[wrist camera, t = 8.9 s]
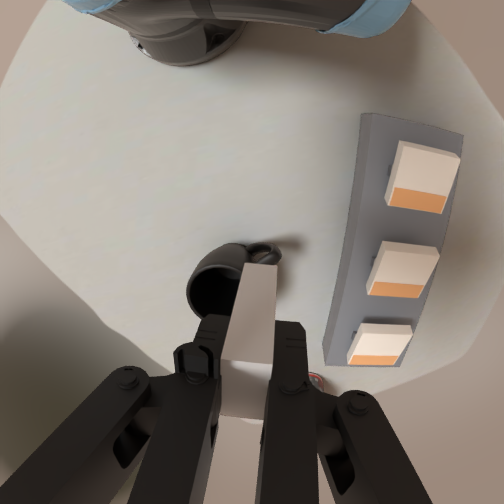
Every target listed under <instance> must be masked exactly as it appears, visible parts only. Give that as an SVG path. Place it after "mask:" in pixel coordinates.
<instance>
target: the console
mask: <svg viewBox="0 0 504 504" xmlns="http://www.w3.org/2000/svg"><path fill="white" fill-rule="evenodd" d="M463 136H464V135H461V134H457V133H454V132H451V131H447V130H444V129H440V128H436V127H432V126H429V125H425V124H421V123H416V122H412V121H408V120H404V119H399V118H395V117H390V116H385V115H380V114H375V113H364V114H361V122H360V132H359V141H358V150H357V158H356V166H355V174H354V181H353V188H352V195H351V202H350V208H349V215H348V221H347V227H346V233H345V238H344V244H343V250H342V255H341V260H340V265H339V271H338V276H337V281H336V285H335V290H334V295H333V300H332V304H331V309H330V313H329V318H328V322H327V326H326V331H325V335H324V339H323V343H322V346H323V354H324V361H325V366H350V367H400V365H401V363H402V360H403V358H404V356H405V353H406V351H407V349H408V346H409V344H410V341H411V339H412V337H411V339H410V340H409V342H408V344H407V345H406V347H405V348H404V350H403V351H402V353H401V354H400V356H399V357H398V359H397V361H396V362H395V363H394V365H350V364H348V363H347V353H348V351H349V349H350V347H351V345H352V342H353V339H354V335H355V334H357V331H358V329H359V327H360V324H361V323H368V324H390V325H410V326H411V329H412V333H413V334H414V331H415V329H416V326H417V323H418V321H419V318H420V315H421V312H422V310H423V307H424V304H425V301H426V298H427V295H428V292H429V289H430V286H431V283H432V280H433V277H434V273H435V270H436V267H437V264H436V266H435V268H434V270H433V271H432V273H431V275H430V277H429V279H428V281H427V283H426V285H425V286H424V288H423V290H422V292H421V294H420V296H419V297H418V298H407V297H391V296H377V295H368V294H367V289H366V283H367V281H368V278H369V276H370V273H371V271H372V268H373V264H374V259H375V258H376V257H377V255H378V252H379V249H380V246H381V244H382V241H389V242H398V243H406V244H414V245H422V246H430V247H436V249H437V251H438V253H439V255H440V253H441V249H442V245H443V242H444V238H445V234H446V230H447V226H448V221H449V217H450V213H451V208H452V203H453V199H454V193H455V188H456V183H457V177H458V171H459V167H458V170H457V173H456V176H455V179H454V181H453V184H452V187H451V190H450V193H449V195H448V198H447V201H446V203H445V206H444V209H443V211H442V214H439V213H433V212H427V211H421V210H415V209H408V208H402V207H395V206H389V205H387V203H386V201H385V198H384V197H385V193H386V190H387V186H388V182H389V179H390V175H391V167H392V165H393V164H394V160H395V156H396V152H397V147H398V143H399V140H401V141H406V142H410V143H415V144H419V145H424V146H428V147H432V148H436V149H440V150H444V151H448V152H452V153H455V154H456V155H457V156H458V157H459V158H460V159H461V152H462V144H463ZM459 165H460V164H459ZM437 263H438V262H437Z"/></svg>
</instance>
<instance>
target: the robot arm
mask: <svg viewBox="0 0 504 504" xmlns="http://www.w3.org/2000/svg"><path fill="white" fill-rule="evenodd" d="M62 1H63V2H65V3H67V4H68V5H70V6H72V7H73V8H74V9H75V10H76V11H79V12H81V13H85V14H90V15H93V16H95V17H98V18H100V19H102V20H105V21H107V22H109V23H112V24H114V25H116V26H118V27H120V28H123V29H125V30H127V31H128V32H129V35H130V37H131V39H132V41H133V42H134V44H135V45H136V46H137V48H138V49H139V50H140V51H141V52H143V53H144V54H145V55H147V56H148V57H150V58H152V59H154V60H157V61H159V62H162V63H165V64H168V65H174V66H188V65H195V64H199V63H202V62H205V61H208V60H210V59H212V58H215V57H216V56H218V55H220V54H221V53H223V52H224V51H226V50H227V49H228V48H229V47H230V46H231V45H232V44H233V43H234V42H235V41H236V40H237V39H238V38H239V36H240V35H241V33H242V31H243V30H244V28H245V25H246V23H247V21H255V22H265V23H275V24H283V25H290V26H297V27H304V28H310V29H315V30H316V32H319V33H323V34H329V33H337V34H343V35H348V36H353V37H358V38H369V37H372V36H377V35H380V34H382V33H384V32H385V31H387V30H388V29H390V28H391V27H392V26H393V25H394V24H395V23H396V22H397V21H398V20H399V19H400V17H401V16H402V15H403V13H404V12H405V11H406V9H407V7H408V6H409V4H410V2H411V1H412V0H62ZM276 288H277V266H274V265H264V264H253V263H245V264H244V268H243V272H242V276H241V280H240V284H239V288H238V292H237V296H236V299H235V303H234V307H233V311H232V315H231V316H222V315H214V314H208V315H207V316H206V317H205V318H204V319H202V320H201V322H200V325H199V327H198V331H197V333H196V335H195V338H194V340H193V342H189V343H185V344H183V345H181V346H179V347H177V348H176V350H175V351H174V352H173V355H174V364H175V373H173V374H171V375H167V376H157V377H149V376H148V374H147V373H146V371H144V370H143V369H141V368H139V367H135V366H124V367H121V368H118V369H116V370H115V371H113V372H112V373H111V374H110V375H109V376H108V377H107V378H106V379H105V380H104V381H103V382H102V383H101V384H100V385H99V386H98V387H97V388H96V389H95V390H94V391H93V392H92V393H91V394H90V395H89V396H88V397H87V398H86V399H85V400H84V401H83V402H82V403H81V404H80V405H79V406H78V407H77V408H76V410H74V411H73V412H72V413H71V414H70V415H69V416H68V418H66V419H65V421H64V422H62V423H61V425H60V426H59V427H58V428H57V429H56V430H55V431H54V432H53V433H52V434H51V435H50V436H49V437H48V438H47V439H46V440H45V441H44V442H43V443H42V444H41V445H40V446H39V447H38V448H37V449H36V451H34V452H33V453H32V454H31V455H30V457H29V458H28V459H27V460H26V461H25V462H24V463H23V464H22V465H21V466H20V467H19V468H18V469H17V470H16V471H15V472H14V473H13V475H11V476H10V478H8V480H7V481H6V482H5V483H4V484H3V485H2V486H1V487H0V504H109V503H110V502H111V500H112V499H113V498H114V496H115V495H116V494H117V492H118V491H119V490H120V488H121V487H122V486H123V484H124V483H125V482H126V480H127V479H128V477H129V476H130V475H131V473H132V472H133V471H134V469H135V468H136V467H137V465H138V464H139V462H140V461H141V460H142V458H143V457H144V458H143V460H142V463H141V466H140V469H139V472H138V474H137V477H136V480H135V483H134V486H133V488H132V491H131V494H130V497H129V500H128V503H127V504H203V500H204V495H205V491H206V486H207V481H208V476H209V471H210V466H211V461H212V457H213V452H214V446H215V442H216V437H217V432H218V418H219V413H220V415H224V416H232V417H240V418H249V419H259V420H264V421H263V429H262V434H261V441H260V444H261V447H260V457H259V468H258V477H257V487H256V496H255V504H319V489H318V459H317V453H318V455H319V458H320V461H321V464H322V466H323V469H324V472H325V475H326V478H327V481H328V483H329V486H330V489H331V492H332V495H333V498H334V501H335V503H336V504H433V503H432V501H431V499H430V498H429V496H428V494H427V492H426V490H425V488H424V486H423V484H422V482H421V480H420V478H419V476H418V475H417V473H416V471H415V469H414V467H413V465H412V463H411V461H410V460H409V458H408V456H407V454H406V453H405V450H404V449H403V447H402V445H401V443H400V441H399V439H398V438H397V436H396V434H395V432H394V430H393V429H392V427H391V425H390V423H389V421H388V419H387V418H386V416H385V414H384V412H383V410H382V409H381V407H380V405H379V403H378V402H377V401H376V399H375V398H374V397H373V396H372V395H370V394H369V393H367V392H364V391H360V390H350V391H347V392H344V393H343V394H342V395H341V396H340V397H337V396H333V395H330V394H327V393H324V392H322V391H320V390H318V389H317V388H316V387H315V386H314V385H313V384H312V382H311V381H310V379H309V372H308V358H307V344H306V332H305V329H304V328H303V327H302V325H301V324H300V322H290V321H279V320H275V310H276Z"/></svg>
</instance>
